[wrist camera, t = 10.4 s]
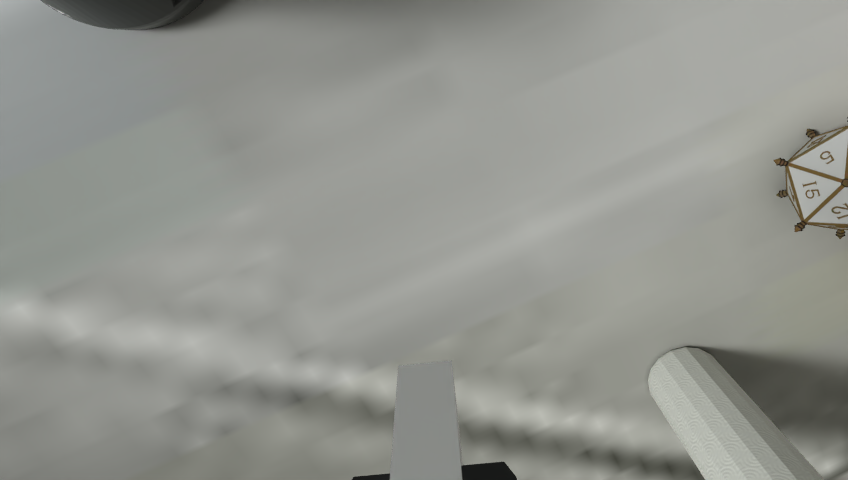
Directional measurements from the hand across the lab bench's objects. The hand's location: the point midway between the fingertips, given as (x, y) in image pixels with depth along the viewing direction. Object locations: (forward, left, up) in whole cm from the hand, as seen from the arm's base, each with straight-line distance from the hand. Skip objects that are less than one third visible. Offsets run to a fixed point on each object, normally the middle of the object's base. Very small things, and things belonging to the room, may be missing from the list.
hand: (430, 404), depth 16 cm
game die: (+2, +29, -29) cm, 41 cm away
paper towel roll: (+20, +20, -29) cm, 40 cm away
